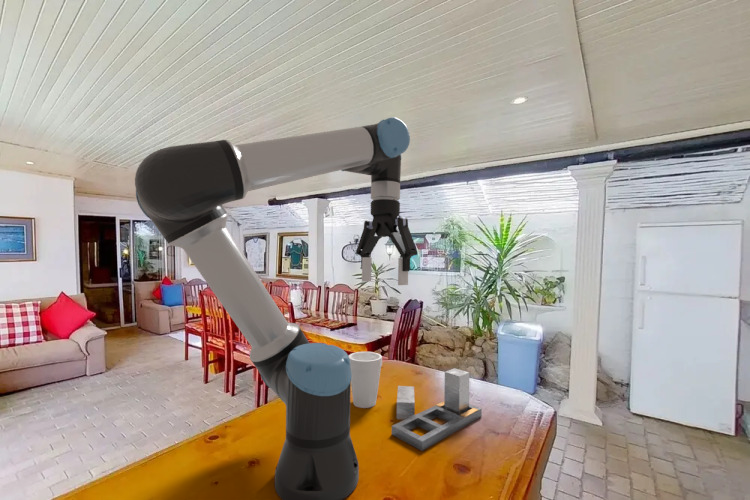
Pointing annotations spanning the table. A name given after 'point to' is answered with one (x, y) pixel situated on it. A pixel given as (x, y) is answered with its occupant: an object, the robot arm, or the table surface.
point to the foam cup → (365, 377)
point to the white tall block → (456, 391)
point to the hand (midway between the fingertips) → (383, 283)
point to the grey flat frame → (433, 425)
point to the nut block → (405, 402)
